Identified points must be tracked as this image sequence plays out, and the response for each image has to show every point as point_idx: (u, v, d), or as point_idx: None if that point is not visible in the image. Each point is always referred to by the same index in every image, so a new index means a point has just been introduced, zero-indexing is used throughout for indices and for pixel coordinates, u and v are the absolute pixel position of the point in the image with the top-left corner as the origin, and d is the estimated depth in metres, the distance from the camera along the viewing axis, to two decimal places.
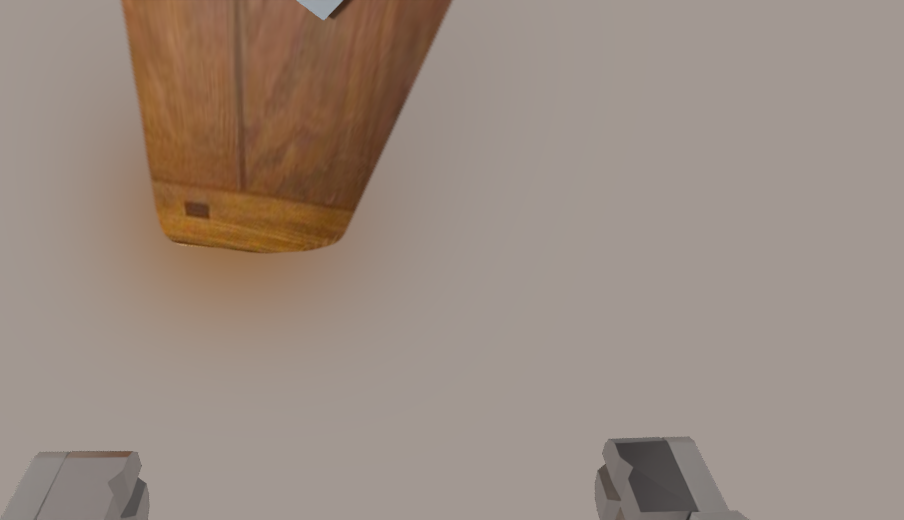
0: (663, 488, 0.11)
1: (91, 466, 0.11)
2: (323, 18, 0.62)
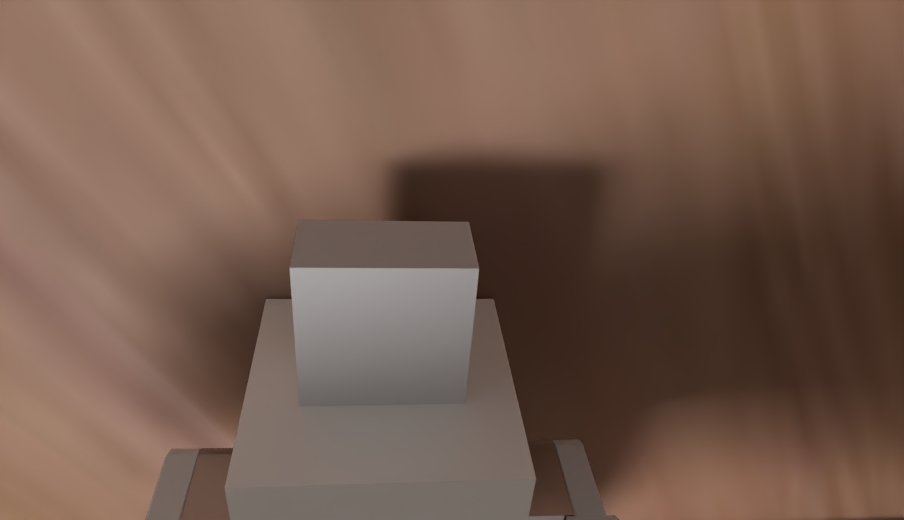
0: (541, 491, 0.11)
1: (222, 463, 0.11)
2: None
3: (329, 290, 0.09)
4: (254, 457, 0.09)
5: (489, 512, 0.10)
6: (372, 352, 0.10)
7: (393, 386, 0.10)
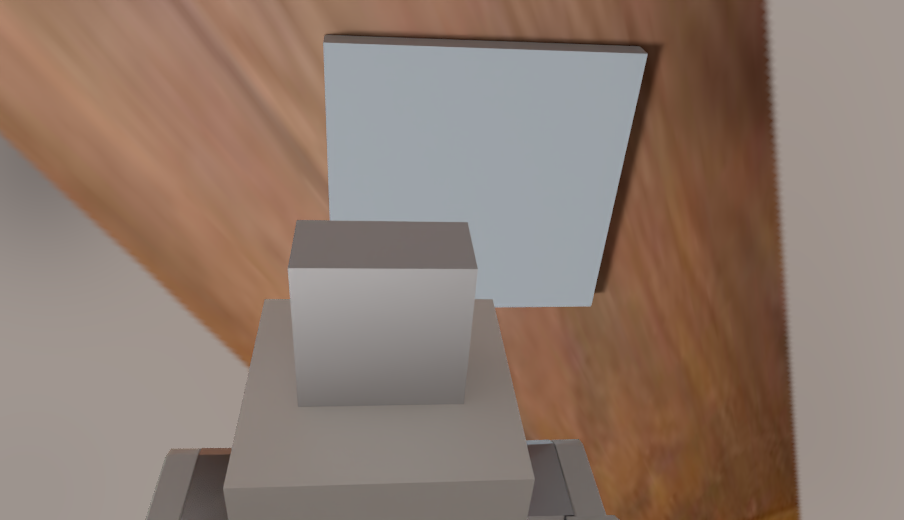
0: (541, 492, 0.11)
1: (222, 462, 0.11)
2: (588, 303, 0.36)
3: (328, 290, 0.09)
4: (253, 458, 0.09)
5: (487, 513, 0.10)
6: (371, 352, 0.10)
7: (391, 386, 0.10)
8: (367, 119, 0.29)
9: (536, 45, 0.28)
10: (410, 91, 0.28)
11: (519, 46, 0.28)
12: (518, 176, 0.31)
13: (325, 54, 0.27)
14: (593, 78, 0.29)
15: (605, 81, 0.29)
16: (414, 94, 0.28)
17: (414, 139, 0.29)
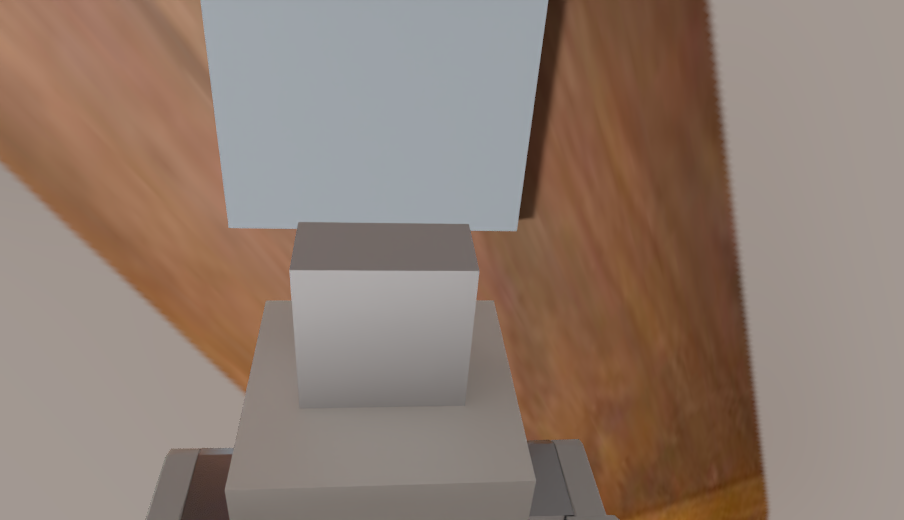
0: (541, 491, 0.11)
1: (222, 463, 0.11)
2: (514, 227, 0.32)
3: (329, 292, 0.09)
4: (254, 459, 0.09)
5: (490, 514, 0.10)
6: (372, 355, 0.10)
7: (393, 388, 0.10)
8: None
9: None
10: None
11: None
12: (423, 72, 0.28)
13: None
14: None
15: None
16: None
17: (302, 23, 0.26)
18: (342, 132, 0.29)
